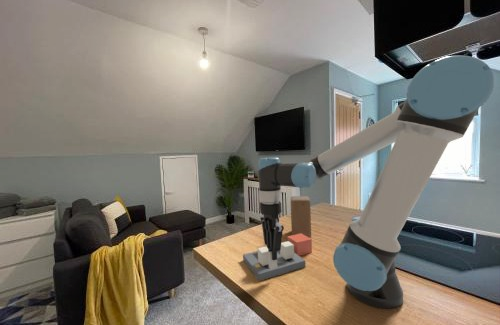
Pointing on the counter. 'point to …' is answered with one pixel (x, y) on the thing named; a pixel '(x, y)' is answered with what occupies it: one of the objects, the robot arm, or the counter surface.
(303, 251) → the cap
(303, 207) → the wooden block
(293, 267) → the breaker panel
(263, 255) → the block
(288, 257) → the block
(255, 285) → the counter surface
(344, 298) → the counter surface
